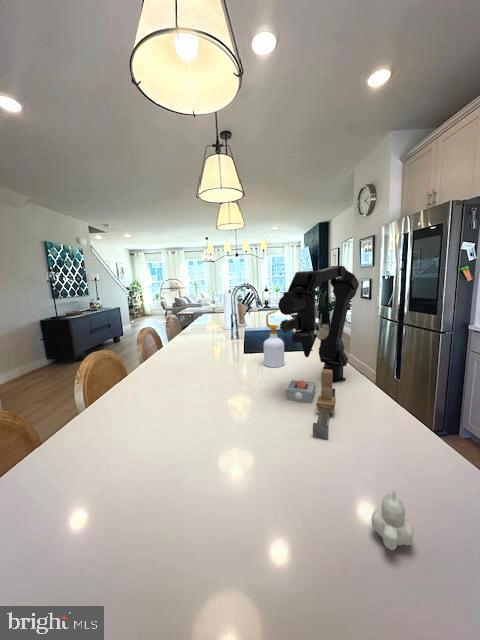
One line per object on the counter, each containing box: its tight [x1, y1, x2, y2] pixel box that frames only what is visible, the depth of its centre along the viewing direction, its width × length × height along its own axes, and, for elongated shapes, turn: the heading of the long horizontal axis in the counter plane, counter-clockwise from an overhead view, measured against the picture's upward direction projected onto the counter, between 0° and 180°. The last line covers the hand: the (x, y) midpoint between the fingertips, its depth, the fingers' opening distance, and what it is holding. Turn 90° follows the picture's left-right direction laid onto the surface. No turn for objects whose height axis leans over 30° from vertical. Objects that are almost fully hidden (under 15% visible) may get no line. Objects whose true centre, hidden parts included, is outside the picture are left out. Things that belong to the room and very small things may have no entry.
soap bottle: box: [263, 309, 285, 368], centre depth 118 cm, size 9×9×25 cm
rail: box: [312, 387, 336, 441], centre depth 76 cm, size 24×4×3 cm, turn 156°
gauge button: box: [296, 380, 307, 389], centre depth 88 cm, size 3×3×4 cm
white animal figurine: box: [371, 489, 414, 551], centre depth 40 cm, size 5×7×8 cm
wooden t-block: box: [315, 368, 337, 415], centre depth 77 cm, size 5×5×11 cm
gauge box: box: [285, 379, 316, 404], centre depth 88 cm, size 8×8×4 cm
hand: (306, 356), depth 89 cm, fingers closed
